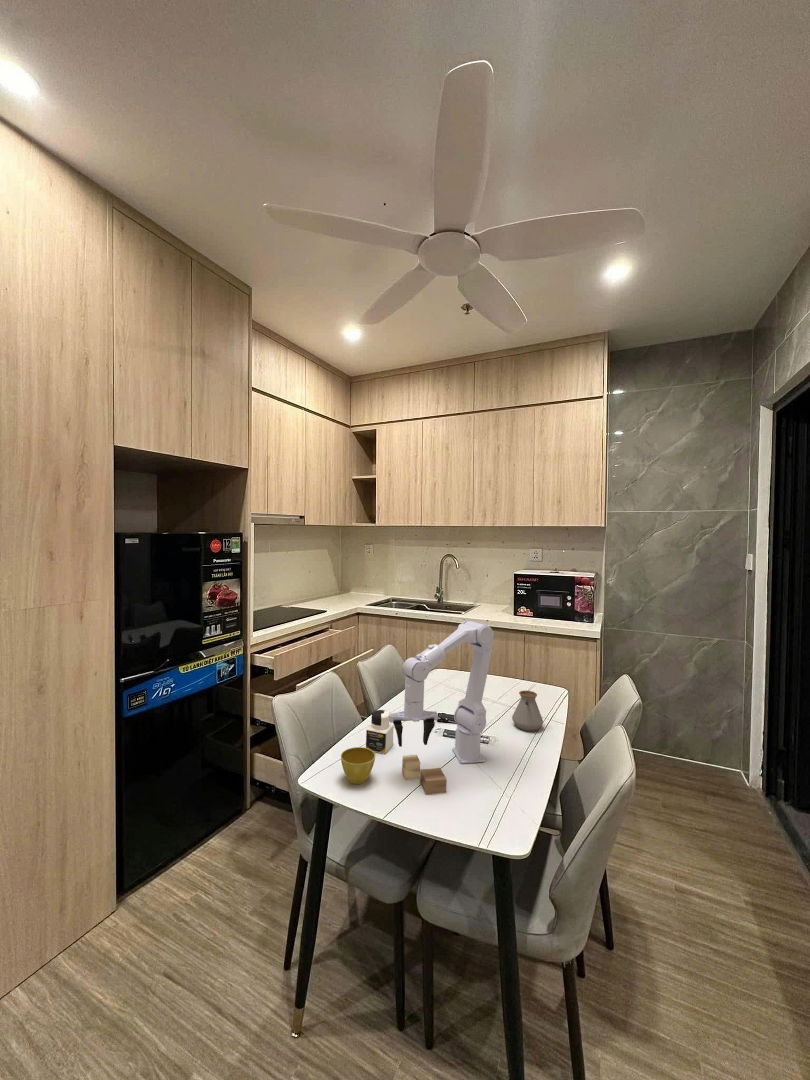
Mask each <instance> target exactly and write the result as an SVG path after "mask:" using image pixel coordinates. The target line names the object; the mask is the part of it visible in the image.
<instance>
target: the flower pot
mask: <svg viewBox="0 0 810 1080" xmlns="http://www.w3.org/2000/svg"><path fill="white" fill-rule="evenodd" d="M375 760H376V752H374V751H372V750H370V749H368V748H366V747H361V746H357V747H350V748H346V749H344V751H342V752H341V754H340V761H341V766H342V769H343V771H344V772H343V773H344V774H345V777H346V778H347V780H348V782H349V783H350V784H352V785H353V784H354V785H361V784H363V783H365V782H366V781H367V779H368V777H369V776H370V774H371V772H372V770H373V767H374V764H375Z"/></svg>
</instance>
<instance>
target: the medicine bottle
mask: <svg viewBox="0 0 810 1080" xmlns="http://www.w3.org/2000/svg"><path fill="white" fill-rule="evenodd" d="M389 714H390V712H389V711H387V710H384V709H377V710H374V711H373V712H372V713H371V722H370V723H371V724H370V725H369V726H368V727H367V728H366V734H365V735H366V736H365V748H368V749H370V750H372V751H373V752H374V753H378V754H383V755H385V754H387V753H388V751H389V750H390V749H391V748H392V746H393V745H394V729H395V727H394V724H393V723H390V721H389Z"/></svg>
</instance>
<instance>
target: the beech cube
mask: <svg viewBox="0 0 810 1080" xmlns="http://www.w3.org/2000/svg"><path fill="white" fill-rule="evenodd" d="M401 762H402V767H401V773H402V776H403V779H404V780H405V781H408V780H409V781H411V780H420V771H421V760H420V758H419V756H418V754H408V755H407V754H406V755H402V761H401Z"/></svg>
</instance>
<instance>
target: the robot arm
mask: <svg viewBox="0 0 810 1080" xmlns="http://www.w3.org/2000/svg"><path fill="white" fill-rule="evenodd" d="M494 635H495V632H494V631H493V629H492V627H491V626H489V625H488V624H483V623H479V622H477V621H473V620H470V619H466V620H464V621H463V622H462V623H460V624H458V627H457V629H455V630H454V631H453V632H452V633H451V634H450V635H448V636H447V637H446V638H445V639H443V641H441V642H440V643H439V644H436V643H434V644H433V643H432V644H429V645H428V646H427V648H426V649H424V650H422V651H421V652H420V653H417V654H416V655H415V657H413V656H412V657H409V658H407V659H406V660H405V661H404V663H403V665H402V667H401V672H402V675H404V681H405V682H404V708H403V709H404V710H403V711H398V712H393V713H389V724H393V725H394V729H395V732H396V737H397V743H398V746H399V747H402V746H403V729H404V726H403V723H402V722H409V721H410V722H411V721H412V722H413V723H414V722H415V723H417V722H418V723H419V722H420V721H423V734H422V735H423V736H422V743H423V745H424V746H428V743H429V742H428V741H429V738H430V735H431V733H432V731H433V729H434V728H435V726H436V722H435V721H438V720H439V718H438V717H439V714H438V712H437V711H433V710H431V711H429V710H424V706H425V705H424V701H425V680H426V679H427V678H428V676H429V674H430V672H431V671H432V669H434V668H435V667H436V666H438V665H439V664H441V663H442V662H443V661H445V657H446V654H448V653H449V652H451V651H453V650H455V649H456V648H457V647H459V646H461V645H462V644H464V643H467V644H470V645H471V647H472V648H473V650H474V653H473V654H474V655H473V658H472V663H471V667H470V672H469V677H468V682H467V687H466V691H465V696H464V698H462V699H460V700H459V701H458V705H457V707H456V708H455V711H454V714H453V719H454V721H455V723H456V724H457V726H456V727H457V728H456V729H455V737H454V747H452V748H451V749H452V751H453V753H454V754H455V757H456V758H457V759H458V760H457V761H459V763H460V764H473V763H484V762H485V759H484V757H483V756H482V755H481V734H482V733H483V731H485V728H486V726H487V717H486V715H487V709H486V708H485V706H484V704H483V703H482V702H483V698H484V697H483V696H484V692H485V687H486V682H487V678H488V672H489V668H490V663H491V658H492V653H493V643H494V642H493V641H494Z"/></svg>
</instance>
